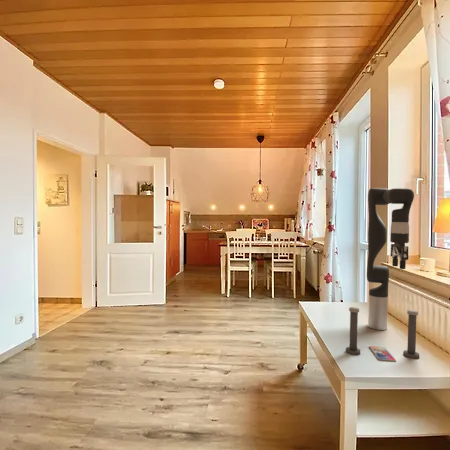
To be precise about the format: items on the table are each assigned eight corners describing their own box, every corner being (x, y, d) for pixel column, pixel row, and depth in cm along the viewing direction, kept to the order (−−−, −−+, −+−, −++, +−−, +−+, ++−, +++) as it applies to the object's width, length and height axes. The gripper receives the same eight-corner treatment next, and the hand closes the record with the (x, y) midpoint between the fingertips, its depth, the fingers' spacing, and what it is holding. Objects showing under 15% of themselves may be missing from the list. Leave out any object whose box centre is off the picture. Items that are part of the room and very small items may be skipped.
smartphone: (385, 347, 153) (397, 360, 138) (385, 349, 153) (397, 363, 138) (368, 345, 154) (378, 359, 139) (368, 347, 154) (378, 361, 139)
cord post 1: (344, 349, 151) (345, 306, 151) (358, 350, 150) (359, 307, 150) (347, 354, 145) (348, 310, 145) (362, 355, 144) (363, 310, 144)
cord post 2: (401, 352, 148) (402, 308, 148) (415, 353, 148) (416, 309, 147) (406, 358, 142) (408, 312, 142) (421, 359, 142) (423, 313, 141)
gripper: (385, 231, 162) (384, 265, 163) (397, 232, 148) (396, 269, 149) (402, 231, 161) (401, 265, 162) (415, 233, 147) (414, 270, 148)
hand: (398, 267), depth 155 cm, fingers open, 8 cm apart
